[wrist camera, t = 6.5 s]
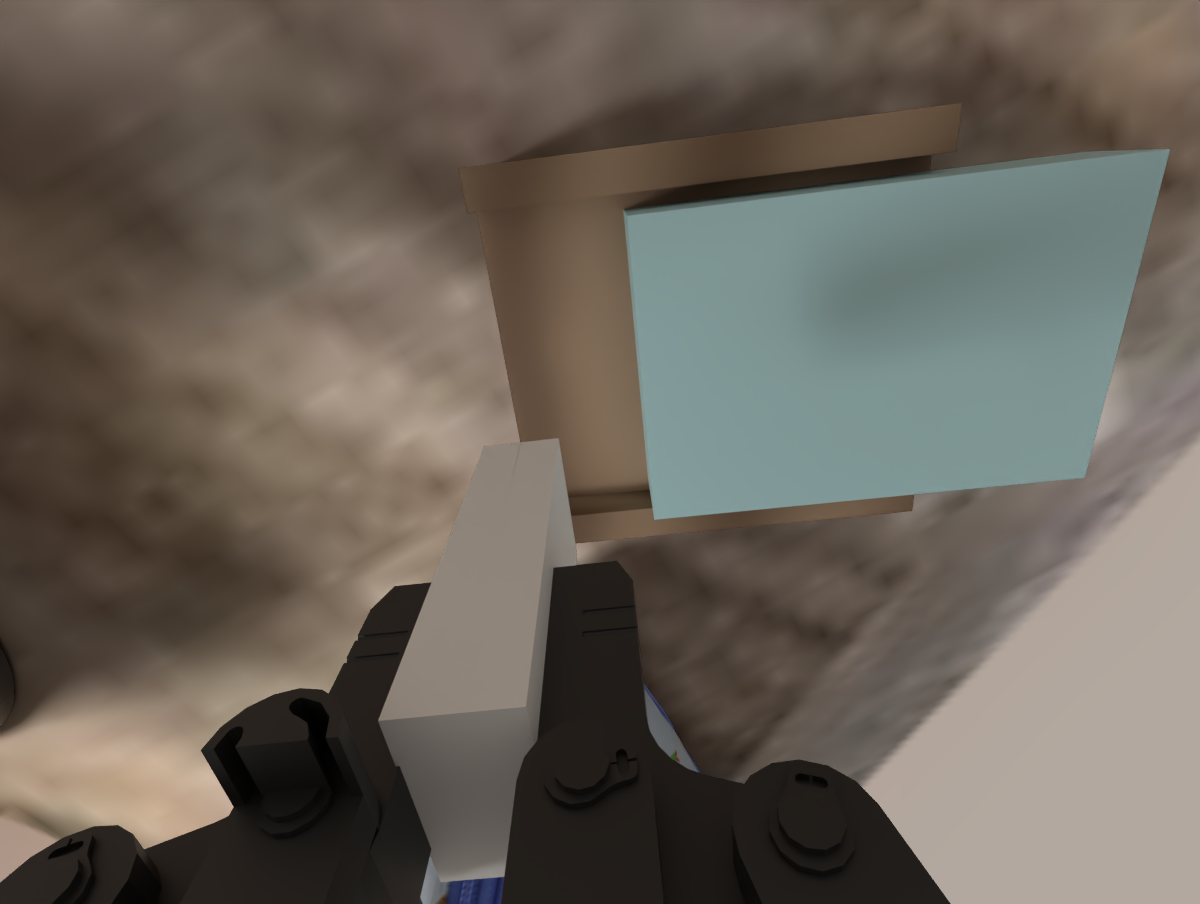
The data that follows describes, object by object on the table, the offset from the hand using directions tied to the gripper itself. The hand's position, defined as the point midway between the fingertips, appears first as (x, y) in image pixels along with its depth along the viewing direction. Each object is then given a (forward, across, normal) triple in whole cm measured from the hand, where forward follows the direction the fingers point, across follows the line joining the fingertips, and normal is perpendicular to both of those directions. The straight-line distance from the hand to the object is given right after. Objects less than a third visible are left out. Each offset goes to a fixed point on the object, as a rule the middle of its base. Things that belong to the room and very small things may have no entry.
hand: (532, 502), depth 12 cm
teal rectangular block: (+9, +10, 0) cm, 14 cm away
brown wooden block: (+13, +5, 0) cm, 14 cm away
